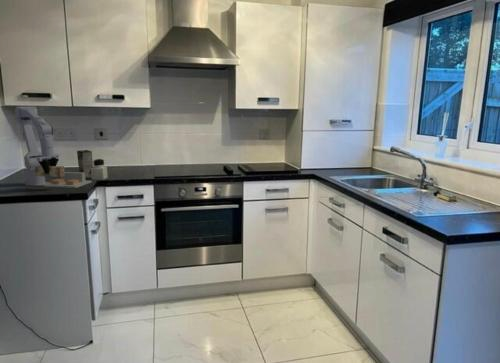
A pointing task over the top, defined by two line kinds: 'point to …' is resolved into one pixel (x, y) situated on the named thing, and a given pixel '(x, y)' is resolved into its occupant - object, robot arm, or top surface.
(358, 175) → the top surface
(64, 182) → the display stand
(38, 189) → the top surface
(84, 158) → the coffee box
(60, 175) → the ash bar
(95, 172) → the medicine bottle
